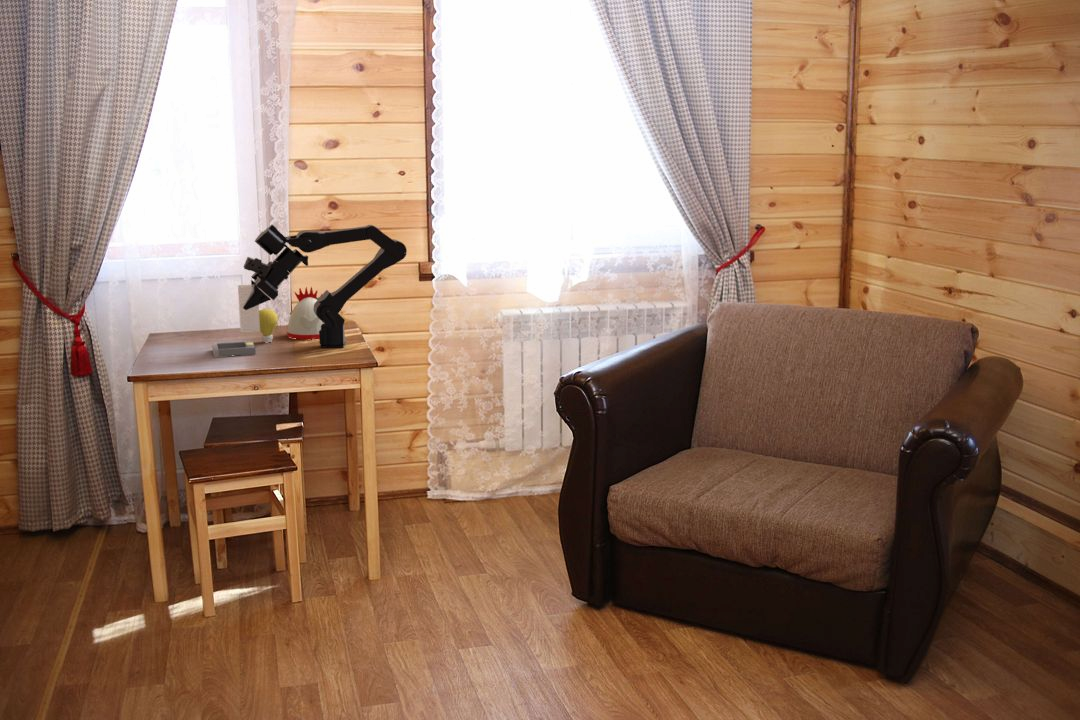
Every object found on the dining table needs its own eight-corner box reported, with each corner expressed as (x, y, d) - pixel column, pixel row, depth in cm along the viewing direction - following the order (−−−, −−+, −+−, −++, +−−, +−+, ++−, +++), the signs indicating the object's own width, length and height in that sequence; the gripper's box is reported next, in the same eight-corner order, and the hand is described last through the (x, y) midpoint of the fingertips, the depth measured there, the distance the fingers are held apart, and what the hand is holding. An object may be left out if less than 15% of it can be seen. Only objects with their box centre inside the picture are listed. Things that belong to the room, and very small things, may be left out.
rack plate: (252, 347, 304) (252, 340, 303) (255, 354, 294) (255, 346, 294) (212, 350, 300) (212, 342, 300) (214, 357, 291) (213, 349, 290)
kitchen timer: (288, 332, 327) (285, 284, 323) (333, 330, 329) (332, 282, 326) (286, 341, 313) (284, 290, 310) (334, 339, 316) (332, 289, 313)
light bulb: (267, 345, 307) (265, 311, 304) (250, 343, 310) (248, 309, 308) (284, 341, 312) (282, 308, 310) (267, 339, 316) (266, 306, 313)
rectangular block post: (258, 328, 301) (256, 284, 298) (260, 331, 296) (257, 286, 293) (240, 329, 299) (237, 285, 296) (241, 332, 294) (239, 287, 292)
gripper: (257, 243, 302) (219, 283, 301) (263, 250, 285) (223, 293, 284) (287, 269, 307) (249, 309, 305) (294, 278, 289) (255, 320, 288)
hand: (243, 307), depth 296 cm, fingers closed on rectangular block post, 5 cm apart
